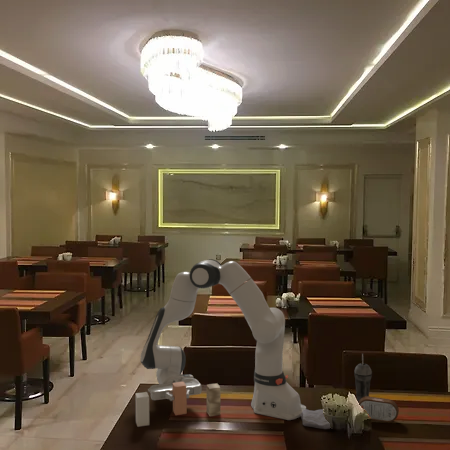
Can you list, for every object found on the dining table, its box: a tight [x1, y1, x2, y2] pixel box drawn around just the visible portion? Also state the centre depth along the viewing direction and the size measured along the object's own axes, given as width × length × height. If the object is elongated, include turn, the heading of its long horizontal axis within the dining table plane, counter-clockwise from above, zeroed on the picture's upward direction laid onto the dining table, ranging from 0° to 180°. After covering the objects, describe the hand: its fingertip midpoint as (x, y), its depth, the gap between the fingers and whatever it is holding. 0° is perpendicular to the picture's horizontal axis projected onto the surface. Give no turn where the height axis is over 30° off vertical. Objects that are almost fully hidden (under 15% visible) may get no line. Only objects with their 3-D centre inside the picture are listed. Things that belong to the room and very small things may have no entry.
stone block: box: [300, 408, 332, 430], centre depth 195 cm, size 12×5×10 cm
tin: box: [357, 395, 400, 423], centre depth 198 cm, size 15×3×8 cm, turn 71°
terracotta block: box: [172, 382, 188, 416], centre depth 198 cm, size 4×4×11 cm
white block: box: [135, 391, 150, 428], centre depth 194 cm, size 4×4×11 cm
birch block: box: [206, 382, 221, 417], centre depth 203 cm, size 4×4×11 cm
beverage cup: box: [353, 353, 373, 402], centre depth 215 cm, size 7×7×20 cm
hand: (180, 397), depth 197 cm, fingers closed on terracotta block, 4 cm apart
